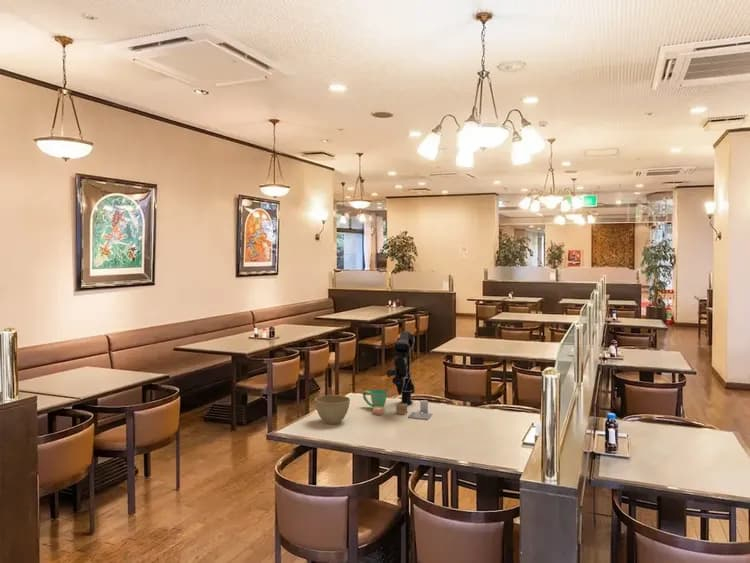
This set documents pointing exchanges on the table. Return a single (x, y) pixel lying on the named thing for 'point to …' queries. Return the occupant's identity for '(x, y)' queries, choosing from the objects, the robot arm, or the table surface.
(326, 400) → the flower pot
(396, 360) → the robot arm
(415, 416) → the slate coaster
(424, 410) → the light wood block
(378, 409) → the peach egg shape
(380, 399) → the mug
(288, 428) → the table surface
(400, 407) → the walnut block
